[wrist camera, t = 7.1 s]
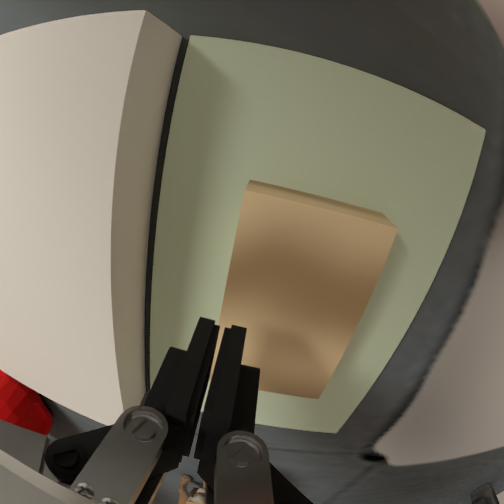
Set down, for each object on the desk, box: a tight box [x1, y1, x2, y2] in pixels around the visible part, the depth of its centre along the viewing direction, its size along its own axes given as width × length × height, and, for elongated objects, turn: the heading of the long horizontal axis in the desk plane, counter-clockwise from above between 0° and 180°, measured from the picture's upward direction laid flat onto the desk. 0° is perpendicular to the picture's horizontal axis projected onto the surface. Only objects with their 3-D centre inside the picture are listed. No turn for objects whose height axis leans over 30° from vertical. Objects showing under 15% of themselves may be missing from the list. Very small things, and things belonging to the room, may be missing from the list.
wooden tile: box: [209, 180, 398, 399], centre depth 14 cm, size 10×6×2 cm, turn 169°
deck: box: [0, 10, 182, 426], centre depth 13 cm, size 22×12×4 cm, turn 168°
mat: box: [150, 35, 486, 433], centre depth 15 cm, size 22×14×1 cm, turn 168°
